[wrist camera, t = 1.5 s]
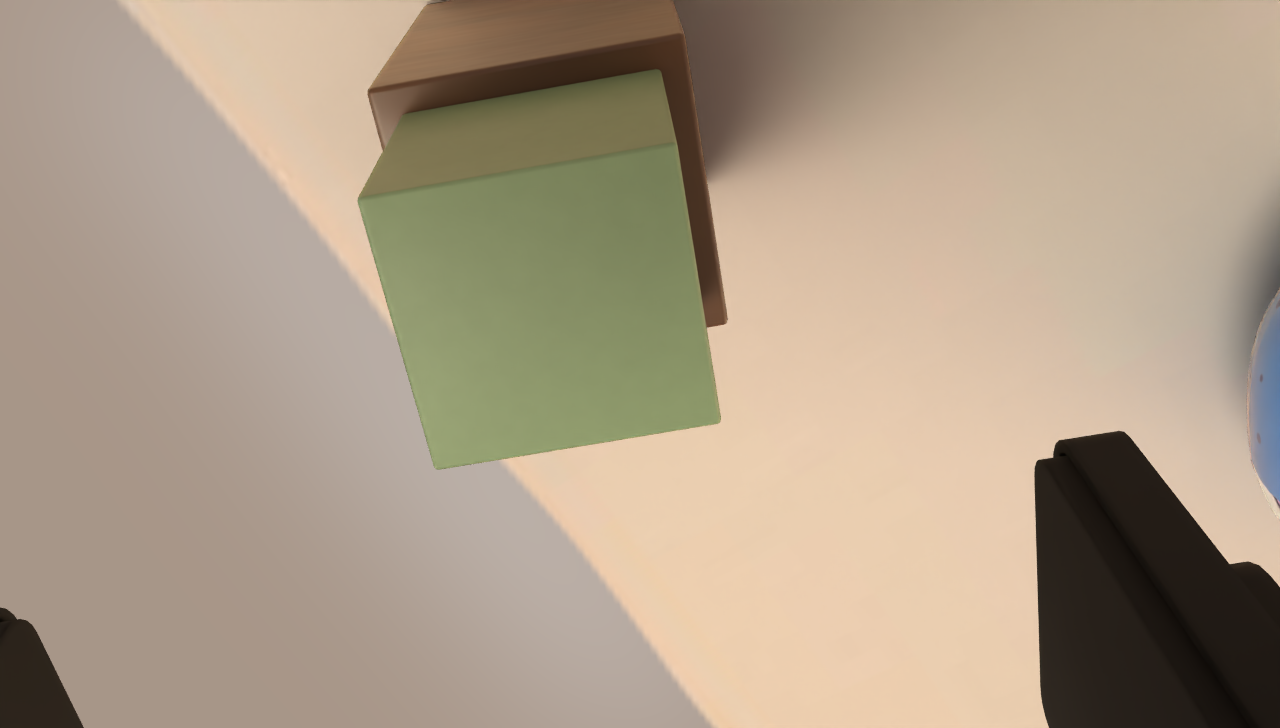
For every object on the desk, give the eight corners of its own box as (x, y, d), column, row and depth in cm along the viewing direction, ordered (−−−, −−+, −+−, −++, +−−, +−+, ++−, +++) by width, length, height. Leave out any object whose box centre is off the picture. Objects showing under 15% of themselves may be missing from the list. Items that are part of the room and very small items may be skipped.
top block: (462, 346, 23) (434, 471, 19) (401, 113, 21) (355, 198, 17) (699, 306, 23) (722, 424, 19) (660, 67, 21) (677, 142, 17)
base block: (478, 228, 30) (442, 374, 23) (423, 5, 28) (365, 89, 21) (696, 190, 30) (728, 325, 23) (660, -39, 27) (684, 33, 20)
